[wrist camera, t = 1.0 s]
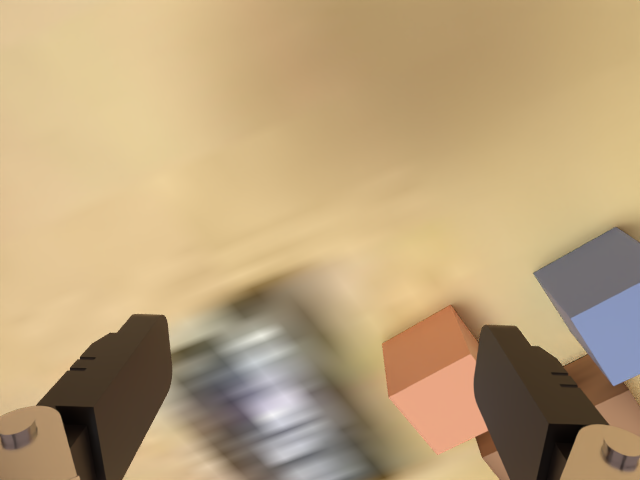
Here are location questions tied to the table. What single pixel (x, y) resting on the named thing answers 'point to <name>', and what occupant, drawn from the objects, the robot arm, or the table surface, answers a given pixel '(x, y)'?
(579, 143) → the table surface
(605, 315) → the blue block
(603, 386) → the plinth
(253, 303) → the table surface
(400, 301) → the table surface
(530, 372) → the robot arm
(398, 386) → the terracotta block
